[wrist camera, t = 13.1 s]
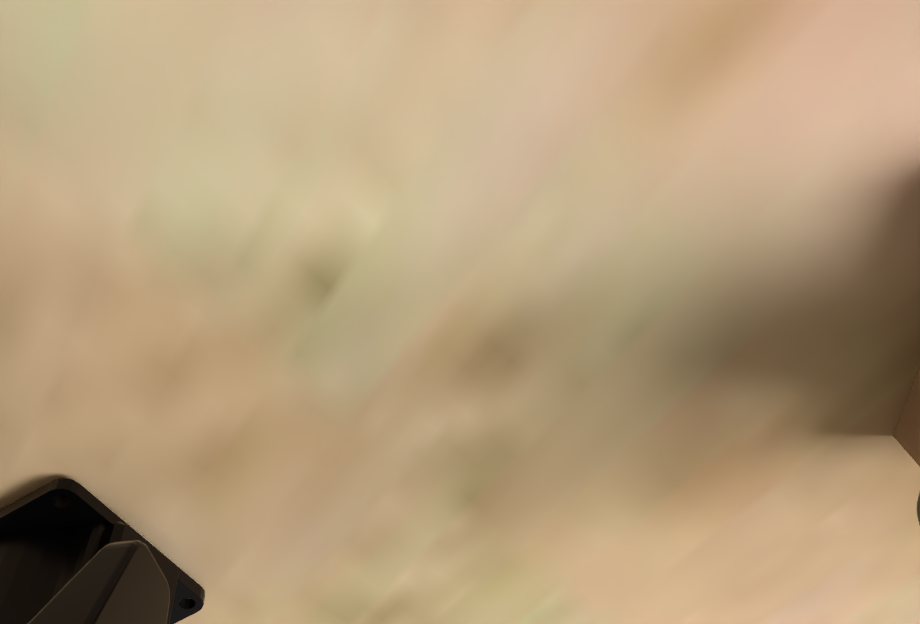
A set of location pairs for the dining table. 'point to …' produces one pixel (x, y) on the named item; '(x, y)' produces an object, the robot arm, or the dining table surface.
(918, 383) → the walnut block
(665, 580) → the dining table surface
